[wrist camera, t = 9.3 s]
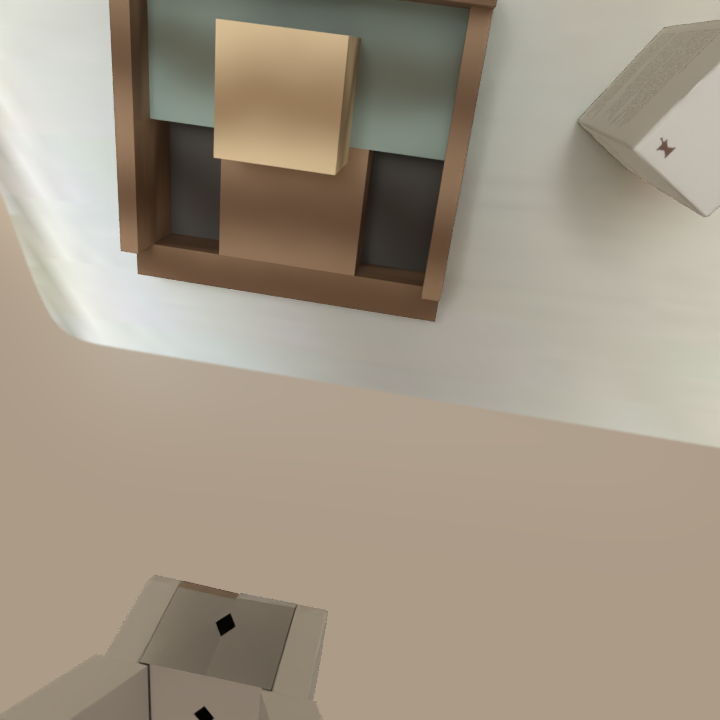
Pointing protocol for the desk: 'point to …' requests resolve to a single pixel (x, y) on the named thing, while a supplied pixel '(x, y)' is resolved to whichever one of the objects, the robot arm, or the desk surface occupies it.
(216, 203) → the box
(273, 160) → the maple block
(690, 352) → the desk surface
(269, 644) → the robot arm
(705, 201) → the skincare box
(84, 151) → the desk surface
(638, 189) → the desk surface
